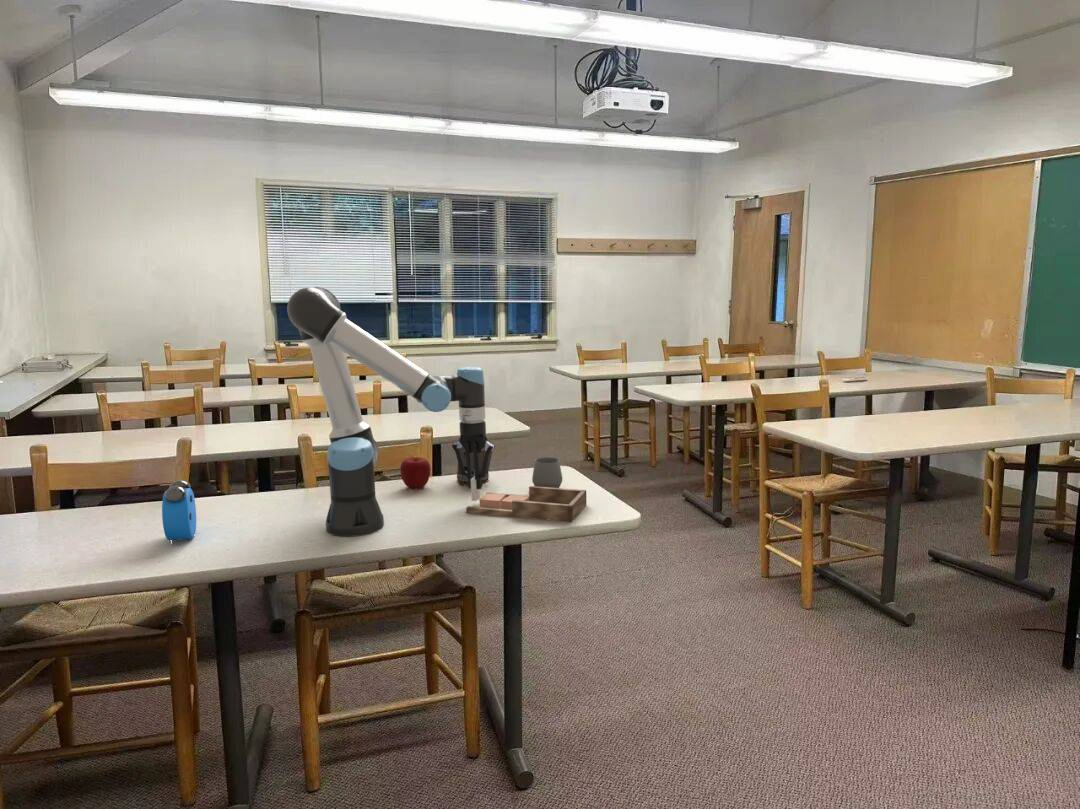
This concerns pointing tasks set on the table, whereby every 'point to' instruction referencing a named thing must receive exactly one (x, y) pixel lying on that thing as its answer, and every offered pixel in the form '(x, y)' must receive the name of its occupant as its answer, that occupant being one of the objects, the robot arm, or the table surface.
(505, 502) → the tile
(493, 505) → the tile
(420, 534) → the table surface
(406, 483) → the apple
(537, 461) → the cup
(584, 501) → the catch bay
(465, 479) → the mug
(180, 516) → the alarm clock
